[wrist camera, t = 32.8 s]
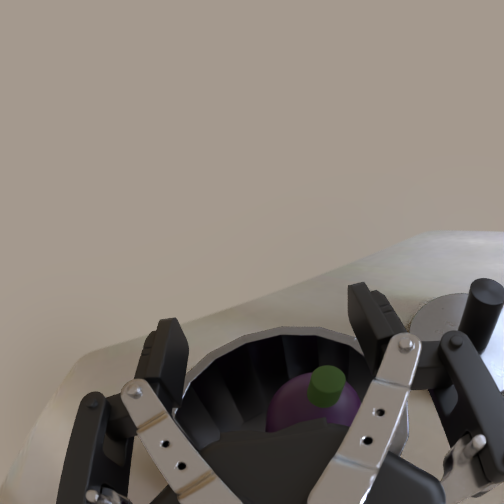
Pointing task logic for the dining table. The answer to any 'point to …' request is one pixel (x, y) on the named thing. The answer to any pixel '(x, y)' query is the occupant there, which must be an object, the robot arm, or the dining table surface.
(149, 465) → the dining table surface
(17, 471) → the dining table surface
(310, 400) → the eggplant
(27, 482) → the dining table surface
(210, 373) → the pot
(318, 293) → the dining table surface
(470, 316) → the lid
